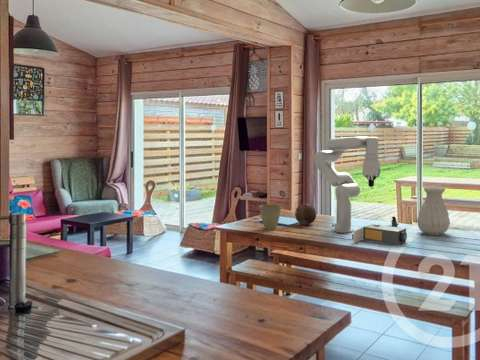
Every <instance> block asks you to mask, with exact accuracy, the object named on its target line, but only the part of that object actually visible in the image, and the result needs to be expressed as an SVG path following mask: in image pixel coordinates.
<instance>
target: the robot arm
mask: <svg viewBox="0 0 480 360" xmlns="http://www.w3.org/2000/svg"><path fill="white" fill-rule="evenodd" d="M325 145H326V148H327V149H326V150H320V151H317V152H316V153H315V154H314V159H313V160H314V161H313V162H314V165H315V167H316V169H318V171H319V172H320V174H322V175H323V176H324V178H325V179H326V181H328V183H329V184H330V186H332V187H336V188H335V191H334V193H335V197H336V198H335V199H336V223H332V224H331V228H332V227H333V228H334V229H333V231H334V232H336V233H343V234H349V233H353V231H354V229H353V228H352V203H351V200H350V199H351V198H356V197H358V196H359V195H360V194H361V188H360V185H359V184H358V183H357V182H356V181H355V180H354V178H353V177H352V176H351V174H350V173H348V172H345V171H343V172H342V171H341V172H339V171H337V170H336V169H335V167H334V166H332V165H331V164H329V163H335V162H337V161H338V160H339V159H340V157H341V156H342V155H343V154H344V152H345V151H348V150H358V149H361V150H363V149H365V154H363V158H364V159H363V164H362V170H361V173H362V176H363V178H366V179H367V180H368V181H367V183H368V187H369V188H370V187H371V188H372V187H374V186H375V181H376V179H377V178H380V174H381V165H380V164H381V163H380V159H379V138H378V136H349V137H348V136H346V137H344V136H343V137H332V138H330V139H328V140H327V141H326V144H325Z"/></svg>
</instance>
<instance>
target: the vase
mask: <svg viewBox="0 0 480 360" xmlns="http://www.w3.org/2000/svg"><path fill="white" fill-rule="evenodd" d="M423 190H424V191H425V193H426V196H425V199H424V201H423V203H422V205H421V207H420V209H419V211H418V215H417V219H416V223H417V227H418V229H419V230H420V231H421V232H422V233H424V234H425V235H428V236H441V235H443V234H444V233H447V231H448V230H449V227H450V224H451V221H450V217H449V211H448V209H447V207H446V204H445V203H444V202H445V201H444V199H443V193H444V192H445V190H446V188H445V187H443V186H442V187H440V186H425V187H424V188H423Z"/></svg>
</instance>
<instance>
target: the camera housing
mask: <svg viewBox="0 0 480 360" xmlns="http://www.w3.org/2000/svg"><path fill="white" fill-rule="evenodd" d="M362 227H363V239H362V240H363V241H370V242H375V243H381V242H382V244H387V243H389V245H392V246H393V245H395V246H398V245H401V244H403V242H404V243H406V242H405V241H407V238H408V234H407V228H404V227H403V228H402V227H398V226H397V227H391V225H383V224H377V223H371V224H367V225H364V226H362Z"/></svg>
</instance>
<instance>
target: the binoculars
mask: <svg viewBox="0 0 480 360" xmlns="http://www.w3.org/2000/svg"><path fill="white" fill-rule="evenodd" d="M390 226H391V227H398V226H399V223H398V221H397V218H396V216H392V217H391V224H390Z"/></svg>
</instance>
